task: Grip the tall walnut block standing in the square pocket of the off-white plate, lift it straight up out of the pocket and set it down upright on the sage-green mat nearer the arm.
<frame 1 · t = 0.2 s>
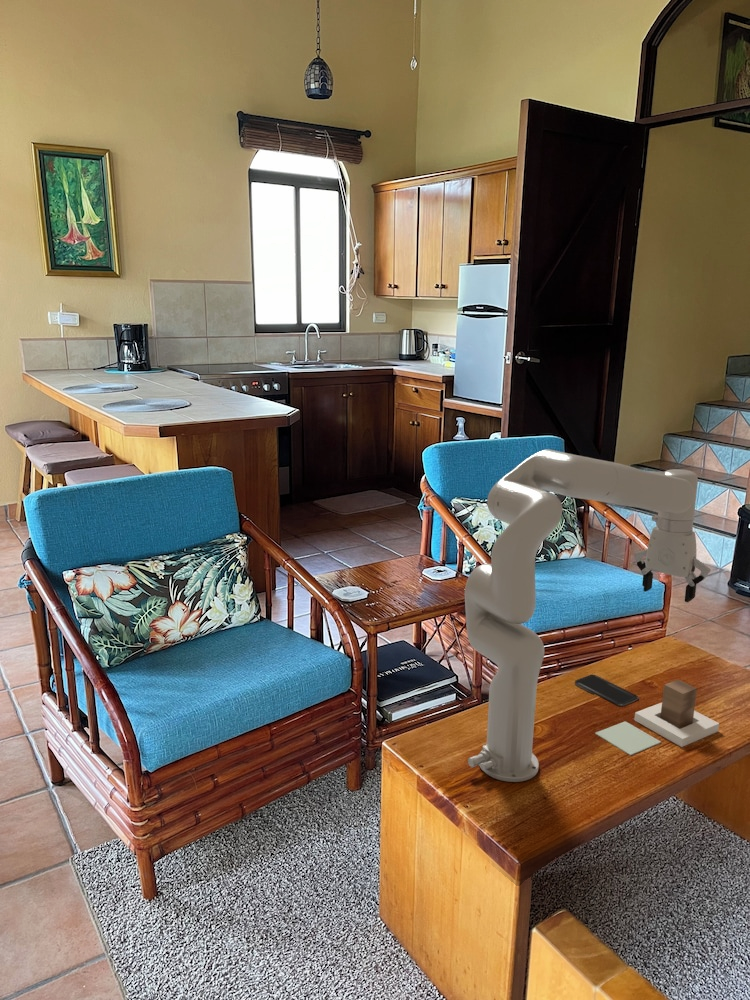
hand: (667, 595, 171), 30 cm above the table, tool pointing down, fingers open, 9 cm apart
phone: (605, 693, 188), on the table
green mat: (627, 739, 167), on the table
pocket plate: (675, 727, 172), on the table
walnut block: (675, 725, 172), resting on pocket plate
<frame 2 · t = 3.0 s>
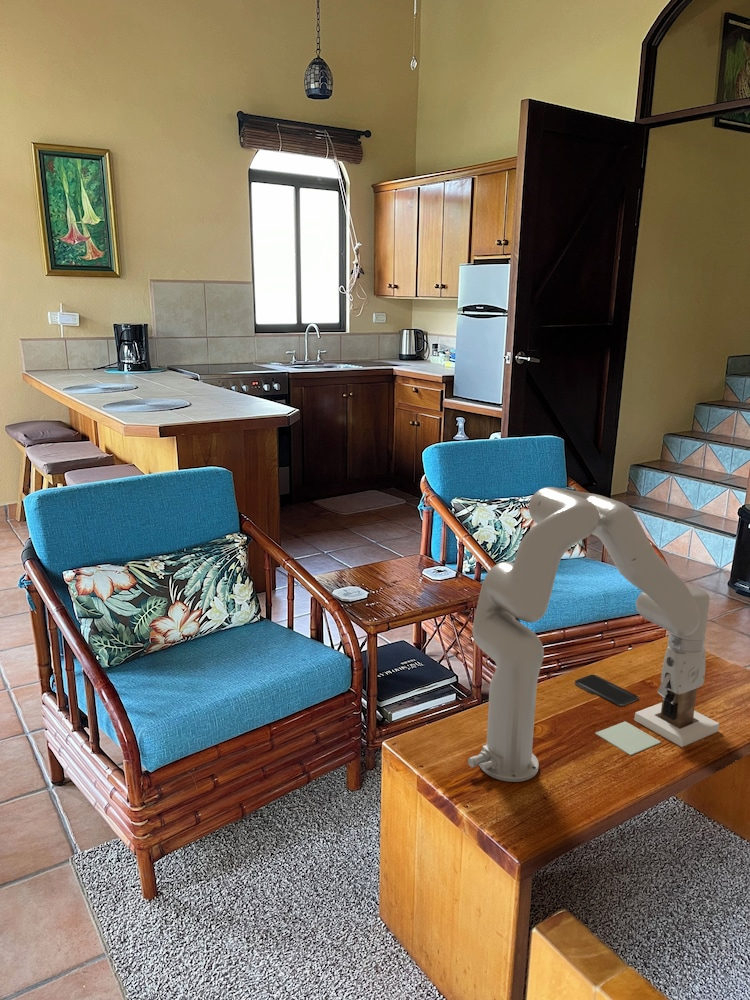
hand: (677, 713, 171), 4 cm above the table, tool pointing down, fingers closed on walnut block, 5 cm apart
walnut block: (675, 725, 172), resting on pocket plate, touching gripper
everything else where it was.
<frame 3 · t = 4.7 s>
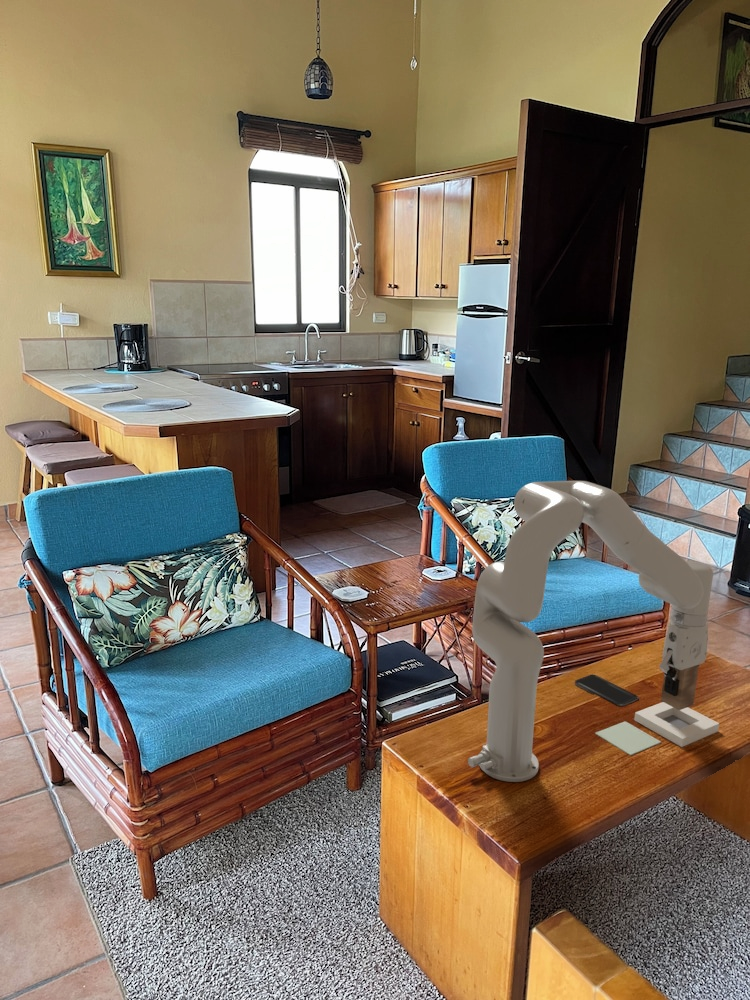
hand: (678, 689, 169), 10 cm above the table, tool pointing down, fingers closed on walnut block, 5 cm apart
walnut block: (676, 702, 170), point 6 cm above the table, touching gripper
everything else where it was.
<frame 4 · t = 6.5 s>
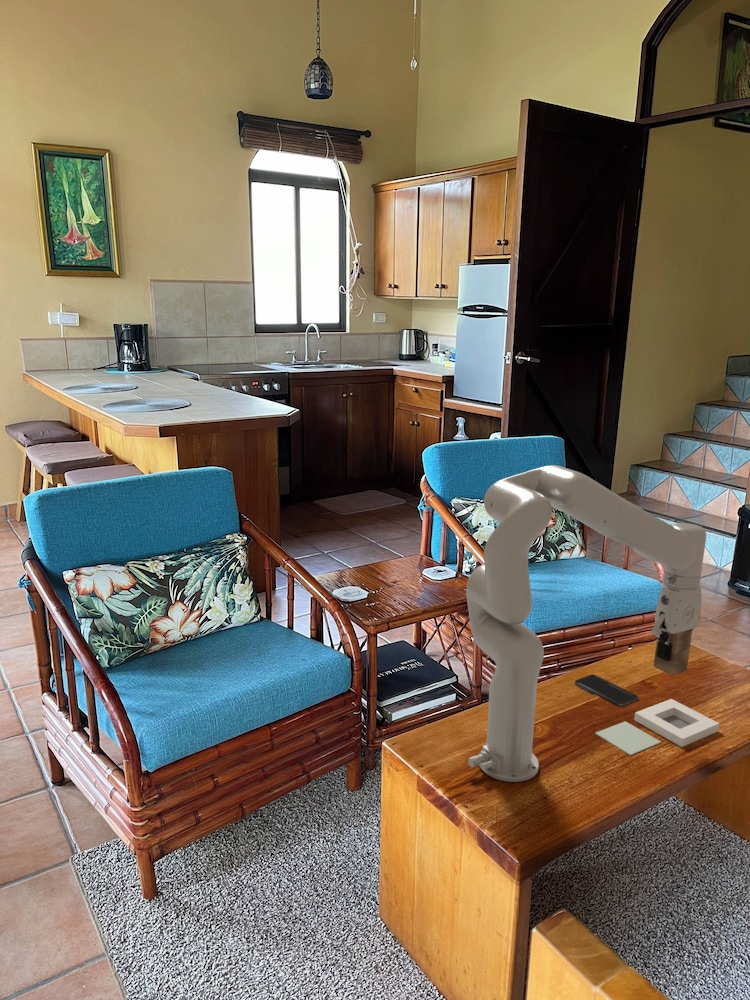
hand: (671, 655, 166), 19 cm above the table, tool pointing down, fingers closed on walnut block, 5 cm apart
walnut block: (670, 668, 167), point 16 cm above the table, touching gripper
everything else where it was.
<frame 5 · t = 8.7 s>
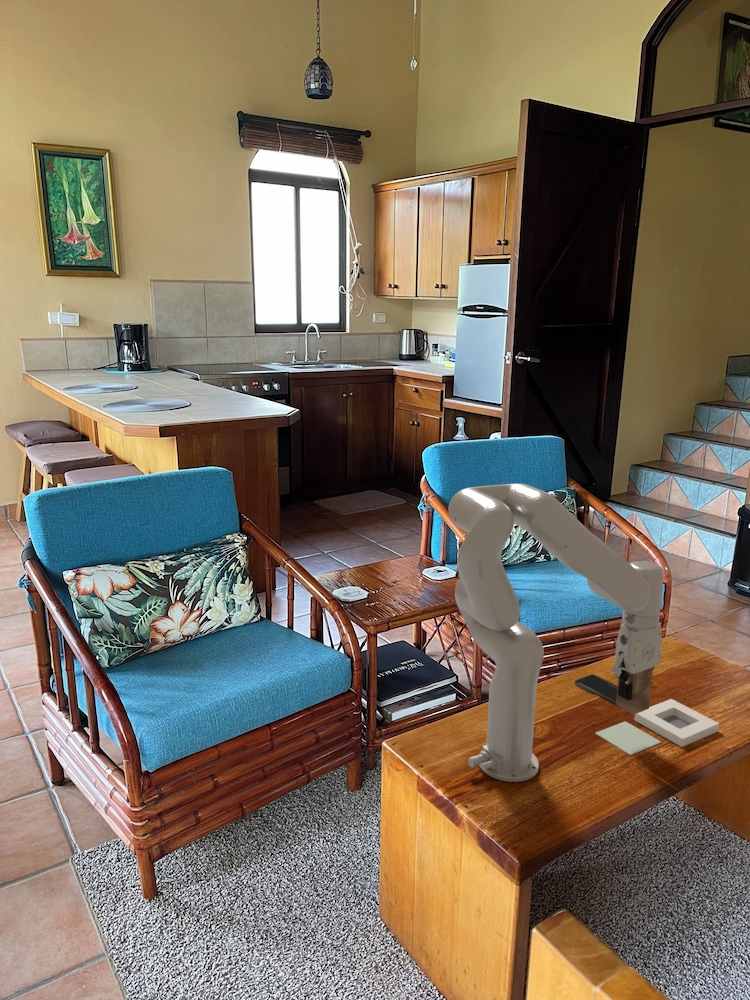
hand: (633, 693, 164), 11 cm above the table, tool pointing down, fingers closed on walnut block, 5 cm apart
walnut block: (632, 706, 165), point 8 cm above the table, touching gripper
everything else where it was.
when the fingers open (5 cm above the table, at t = 10.2 s): walnut block drops 1 cm, resting on green mat.
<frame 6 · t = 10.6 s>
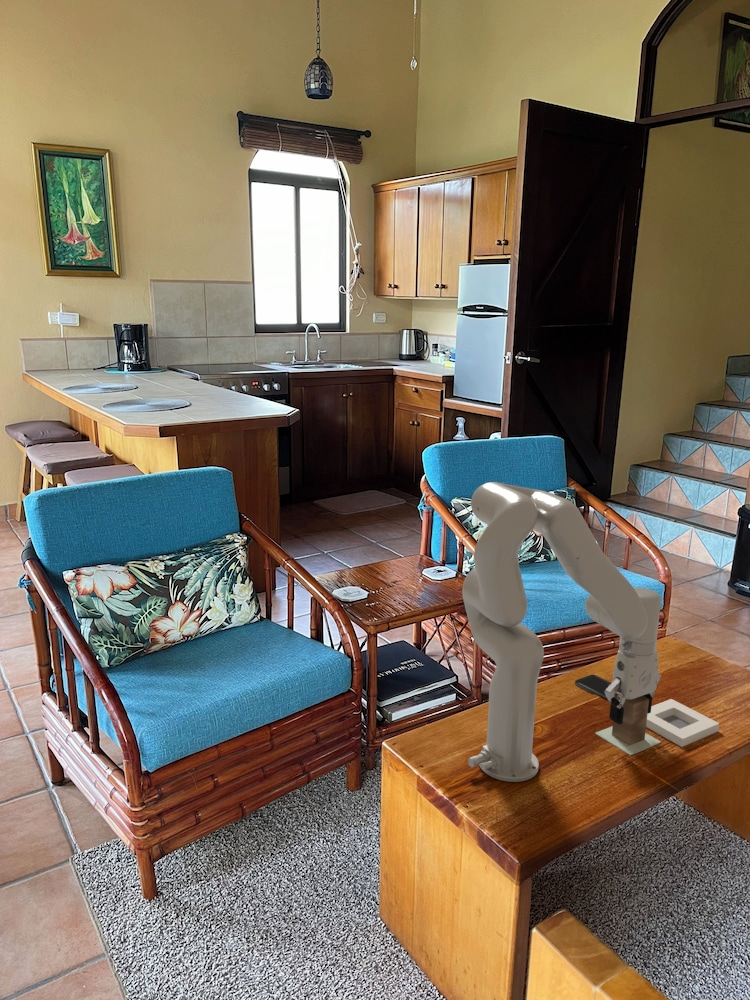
hand: (630, 715, 165), 6 cm above the table, tool pointing down, fingers open, 8 cm apart
walnut block: (628, 737, 166), point 1 cm above the table, touching green mat
everything else where it was.
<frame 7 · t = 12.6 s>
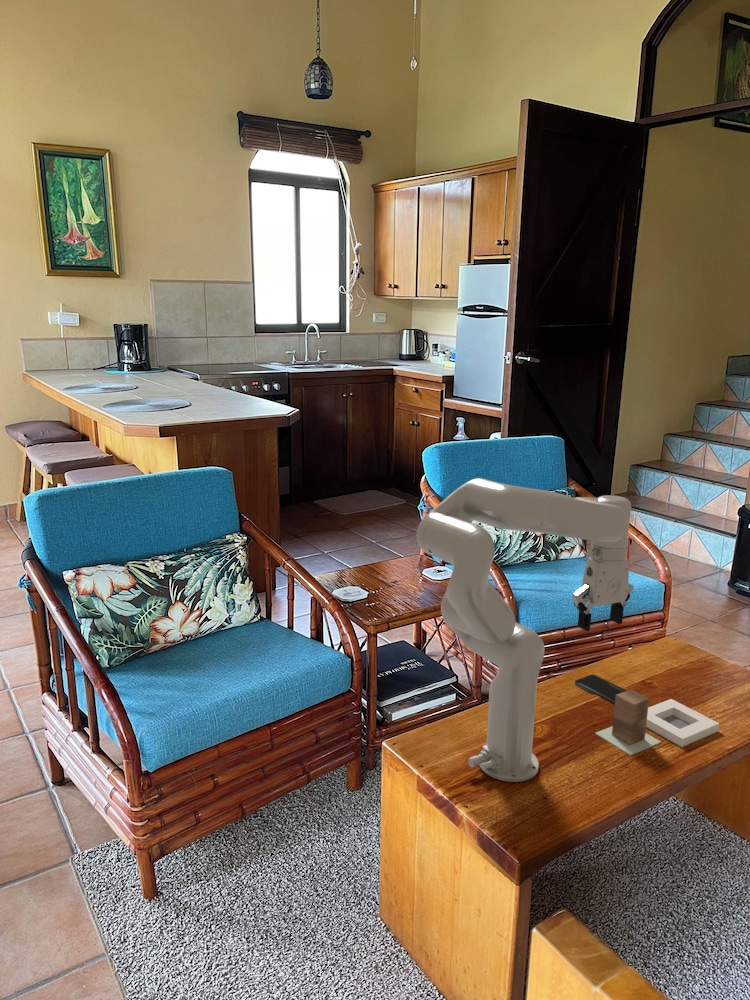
hand: (599, 625, 165), 25 cm above the table, tool pointing down, fingers open, 9 cm apart
nothing on the table moved.
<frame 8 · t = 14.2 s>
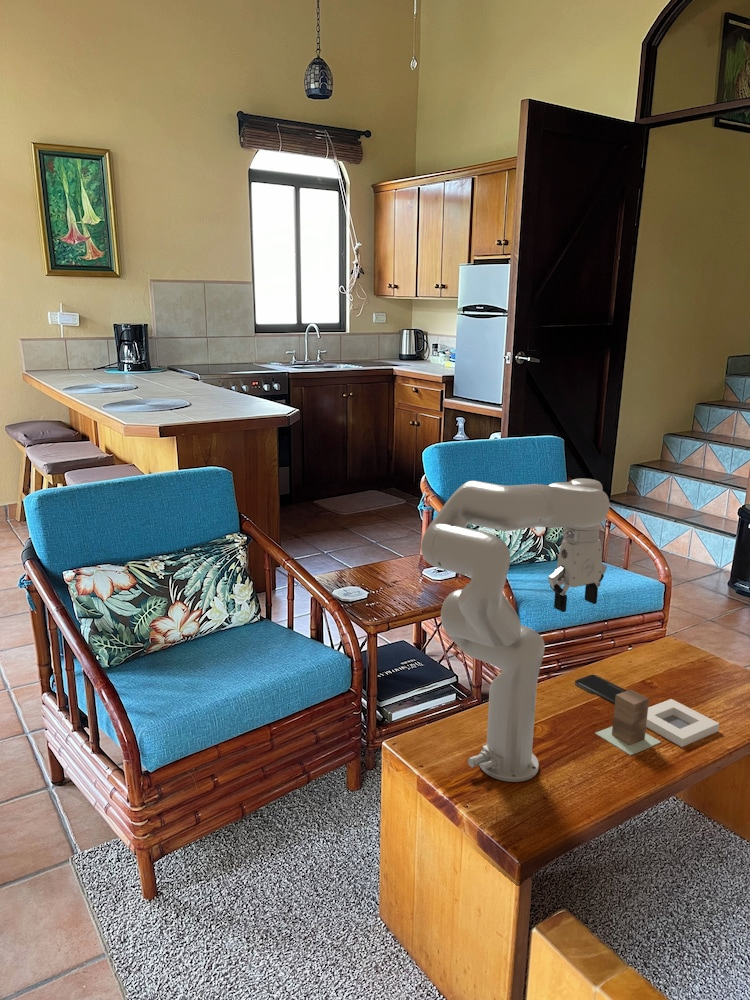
hand: (575, 605, 169), 28 cm above the table, tool pointing down, fingers open, 9 cm apart
nothing on the table moved.
at the end: walnut block 0.1 cm off-centre on the green mat, point 0.6 cm above the green mat's base; walnut block tilted 0°; the gripper is holding nothing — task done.
